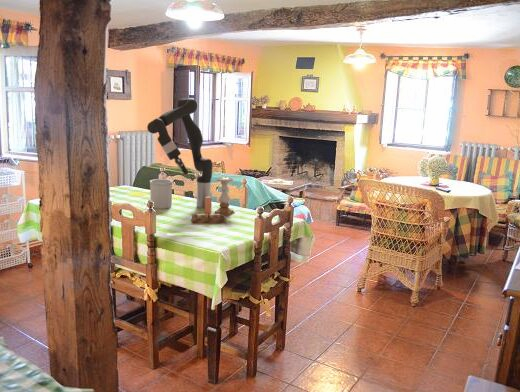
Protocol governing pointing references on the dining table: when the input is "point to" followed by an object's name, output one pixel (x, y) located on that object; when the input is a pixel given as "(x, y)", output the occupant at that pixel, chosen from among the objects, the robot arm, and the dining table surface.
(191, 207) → the dining table surface
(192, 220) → the rack
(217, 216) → the offcut block
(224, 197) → the candle holder
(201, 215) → the offcut block
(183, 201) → the dining table surface
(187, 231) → the dining table surface
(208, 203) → the slat
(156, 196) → the utensil holder
